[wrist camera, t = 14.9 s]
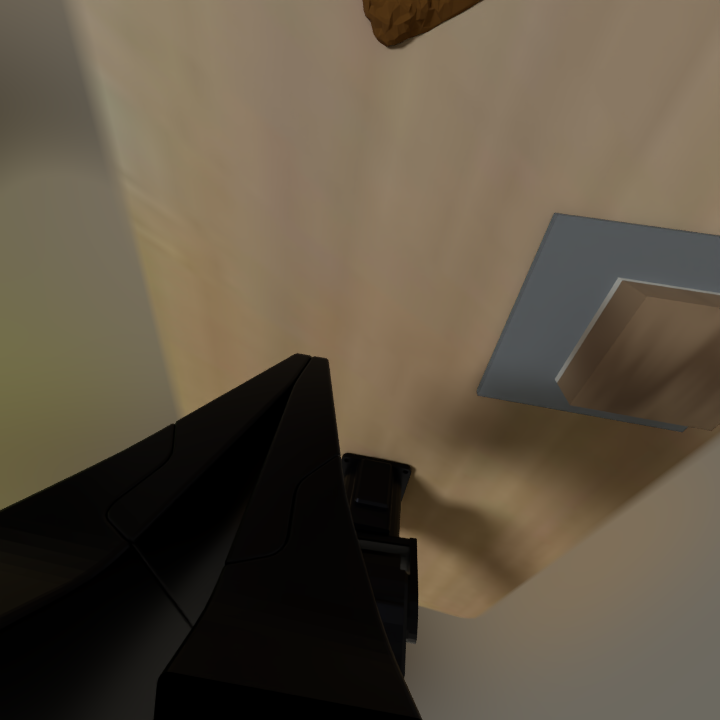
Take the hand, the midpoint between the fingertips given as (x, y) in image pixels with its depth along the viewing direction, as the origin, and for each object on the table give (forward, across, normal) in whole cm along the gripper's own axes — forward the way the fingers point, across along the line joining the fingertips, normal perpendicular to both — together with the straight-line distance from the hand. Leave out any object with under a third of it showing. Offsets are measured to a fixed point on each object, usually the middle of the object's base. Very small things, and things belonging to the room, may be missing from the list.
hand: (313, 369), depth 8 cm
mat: (+12, -16, +3) cm, 20 cm away
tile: (+10, -13, +3) cm, 17 cm away
